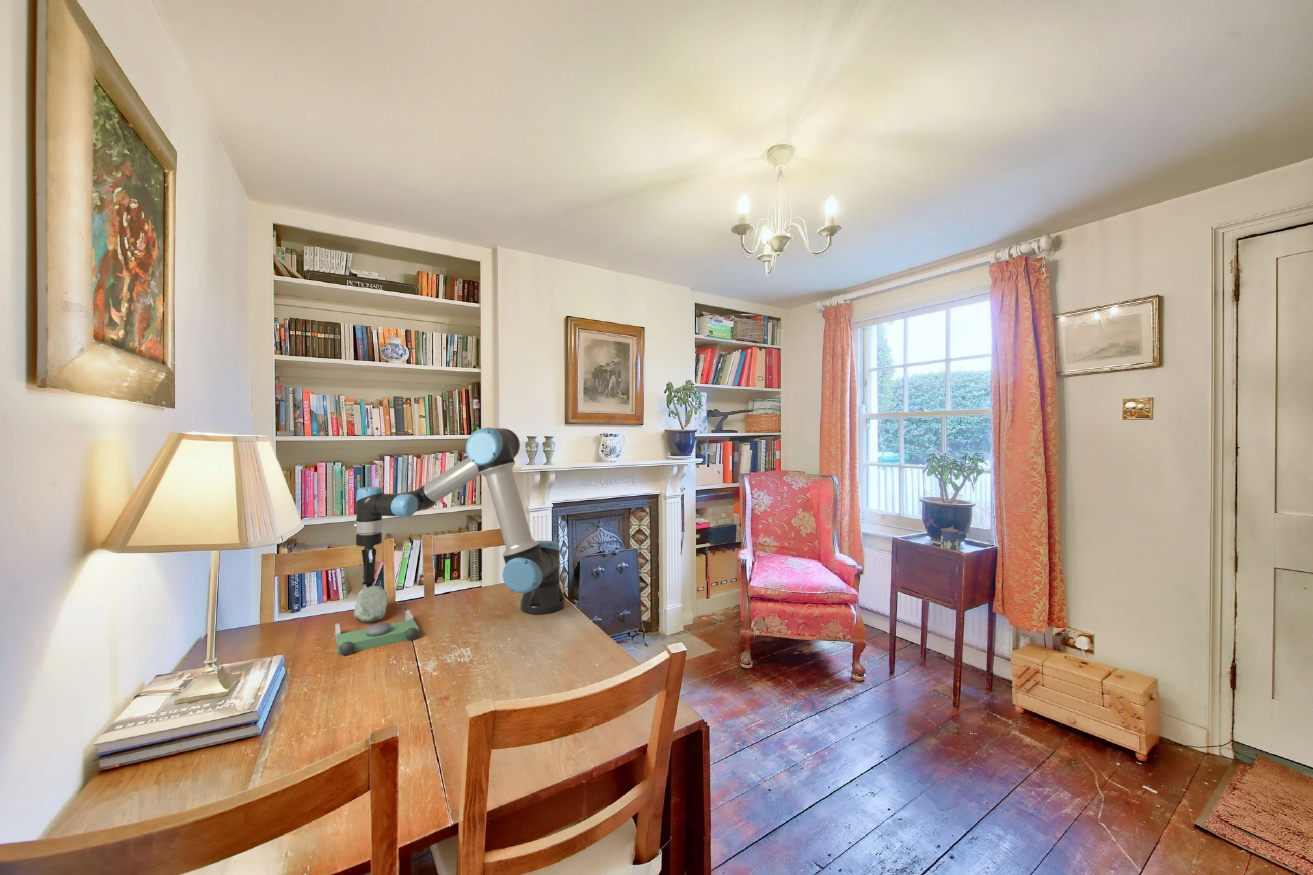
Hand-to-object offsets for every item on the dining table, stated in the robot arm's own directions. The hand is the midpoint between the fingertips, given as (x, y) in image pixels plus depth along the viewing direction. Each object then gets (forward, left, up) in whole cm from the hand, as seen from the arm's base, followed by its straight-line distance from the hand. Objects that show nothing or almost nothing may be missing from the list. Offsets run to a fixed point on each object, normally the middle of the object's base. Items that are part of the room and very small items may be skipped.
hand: (368, 601), depth 160 cm
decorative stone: (0, +7, -4) cm, 8 cm away
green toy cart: (0, +24, -4) cm, 24 cm away
